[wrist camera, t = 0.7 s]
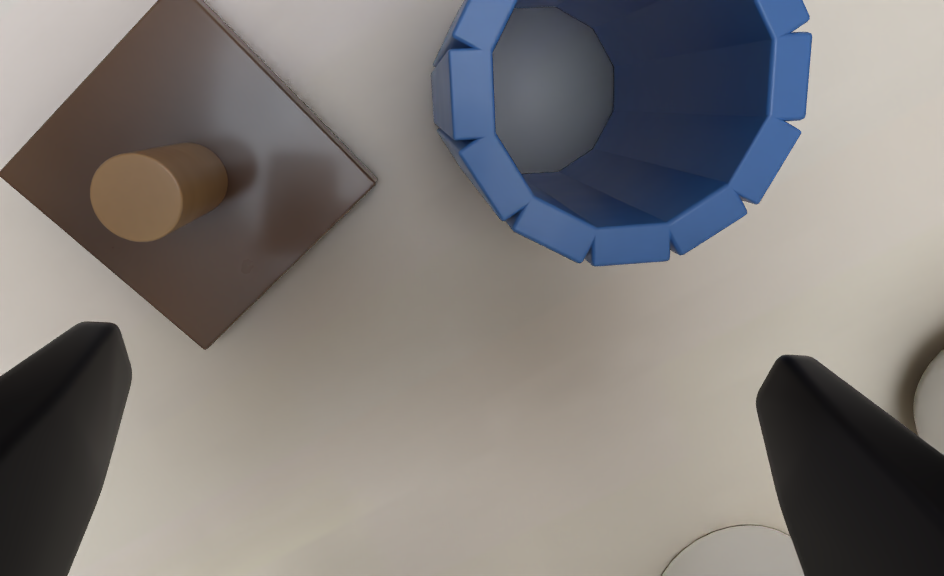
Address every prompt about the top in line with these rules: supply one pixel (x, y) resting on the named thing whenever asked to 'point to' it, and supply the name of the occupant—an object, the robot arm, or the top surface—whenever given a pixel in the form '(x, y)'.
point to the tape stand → (189, 169)
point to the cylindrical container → (738, 554)
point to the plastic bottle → (931, 404)
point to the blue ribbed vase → (639, 123)
